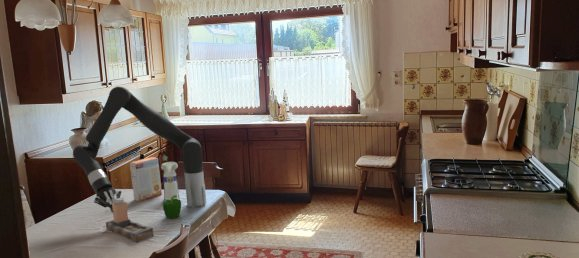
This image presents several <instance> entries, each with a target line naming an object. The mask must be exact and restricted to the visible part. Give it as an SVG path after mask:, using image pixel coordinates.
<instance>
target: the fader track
mask: <svg viewBox="0 0 579 258" xmlns="http://www.w3.org/2000/svg"><path fill="white" fill-rule="evenodd" d="M112 221H114V219H111V220H108V221H105V227H106V230H107V231H108V230H109V232H111V233H113V234H116V235H118V236H120V237H123V238H126V239H128V240H130V241H133V242H135V243H138V242H141V241H143V240H147V239H149V238H151V237H154V229H153V227H151V226H147V225H144V224H142V223H139V222H137V221H134V220H130V224H129V225H126V226H123V227H119V226H116V225H114V224H112Z"/></svg>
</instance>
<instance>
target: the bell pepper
mask: <svg viewBox="0 0 579 258" xmlns="http://www.w3.org/2000/svg"><path fill="white" fill-rule="evenodd" d="M175 197H177V196H176V195H175V196H173V197H172V198H171V200H166V201H165V200H164V201H163V202H162V209H163V212H164V215H165V217H166V218H167V219H171V220H172V219H176V218H178V217H179V216H180V214H181V212H182V211H181V210H182V201H181V199H173V198H175Z"/></svg>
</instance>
